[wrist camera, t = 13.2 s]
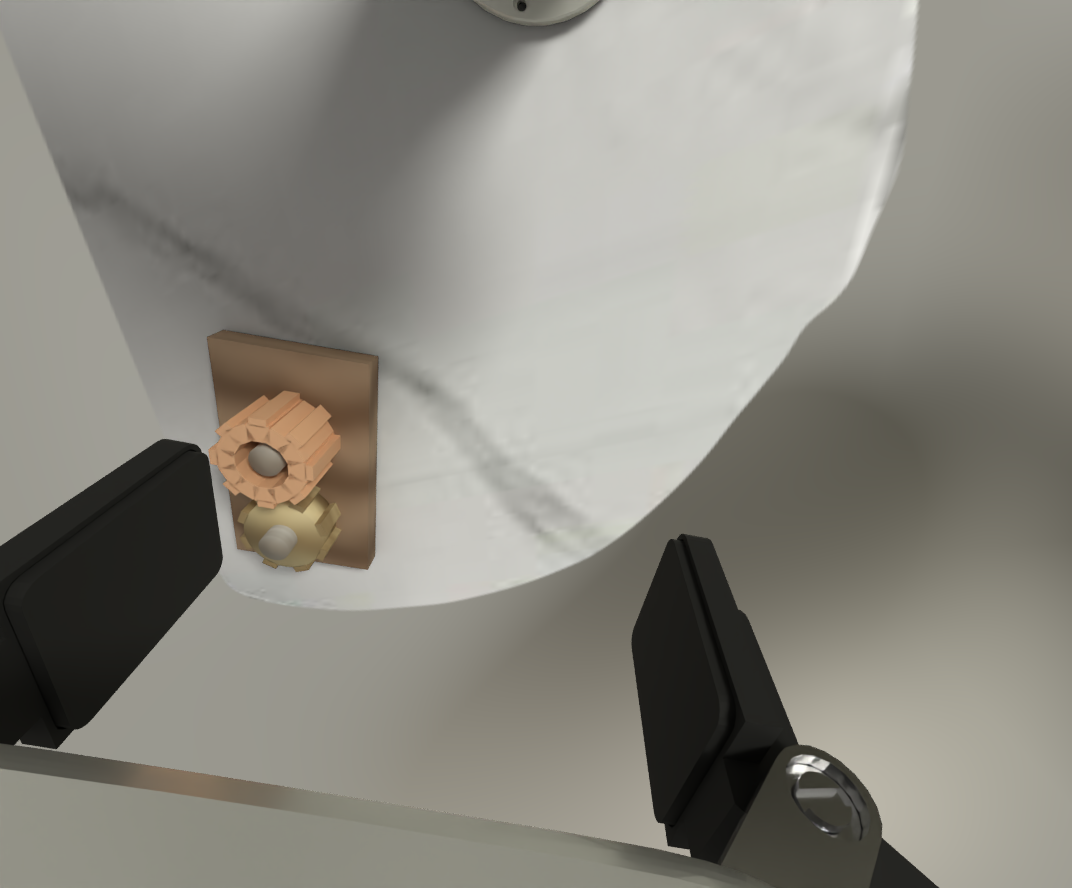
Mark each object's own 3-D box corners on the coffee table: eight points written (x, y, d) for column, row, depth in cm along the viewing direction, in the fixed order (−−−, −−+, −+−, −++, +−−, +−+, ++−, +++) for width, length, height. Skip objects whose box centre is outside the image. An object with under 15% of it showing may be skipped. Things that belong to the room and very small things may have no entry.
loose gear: (243, 383, 39) (202, 409, 35) (339, 400, 39) (311, 428, 35) (252, 466, 43) (216, 499, 38) (341, 480, 43) (315, 515, 38)
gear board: (223, 329, 39) (164, 355, 34) (378, 356, 40) (346, 386, 34) (249, 535, 49) (206, 583, 43) (375, 555, 49) (349, 605, 43)
